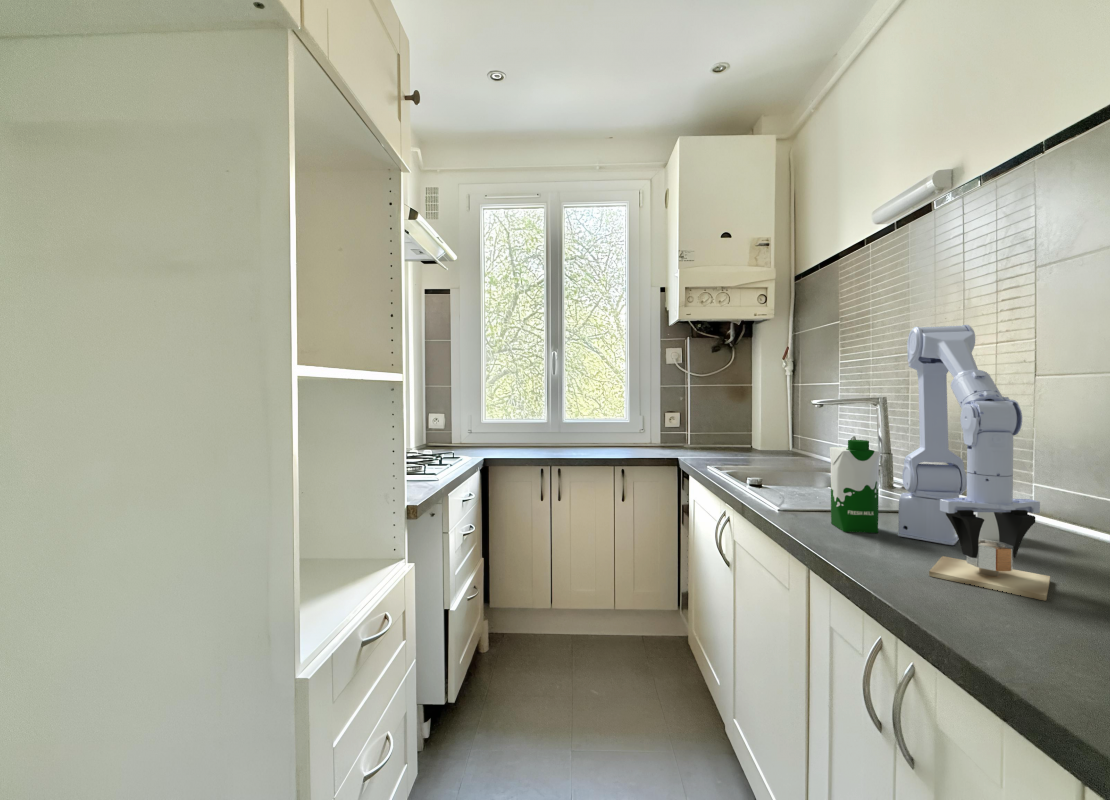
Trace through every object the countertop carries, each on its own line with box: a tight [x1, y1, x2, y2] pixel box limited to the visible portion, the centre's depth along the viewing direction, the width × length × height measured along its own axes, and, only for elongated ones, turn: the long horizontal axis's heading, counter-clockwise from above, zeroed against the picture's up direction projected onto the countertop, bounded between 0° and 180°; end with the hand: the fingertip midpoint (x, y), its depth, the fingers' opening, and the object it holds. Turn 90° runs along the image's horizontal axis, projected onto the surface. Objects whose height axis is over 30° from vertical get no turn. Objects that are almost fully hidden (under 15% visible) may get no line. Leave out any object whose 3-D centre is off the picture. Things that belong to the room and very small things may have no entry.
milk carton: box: [829, 439, 881, 534], centre depth 113 cm, size 9×9×20 cm
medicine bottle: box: [974, 512, 999, 541], centre depth 106 cm, size 7×7×12 cm
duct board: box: [928, 543, 1051, 602], centre depth 83 cm, size 14×11×6 cm
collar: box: [965, 539, 1014, 571], centre depth 82 cm, size 6×6×4 cm
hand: (988, 556), depth 83 cm, fingers closed on collar, 6 cm apart
